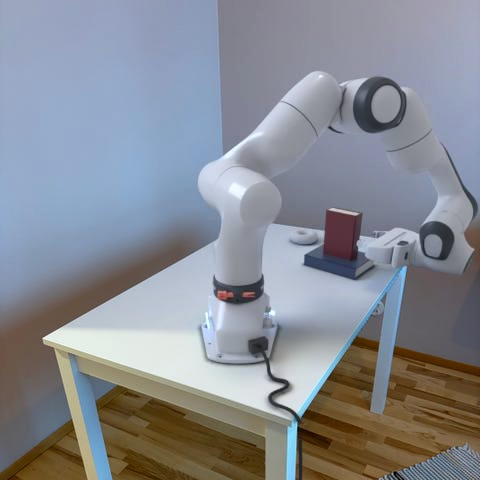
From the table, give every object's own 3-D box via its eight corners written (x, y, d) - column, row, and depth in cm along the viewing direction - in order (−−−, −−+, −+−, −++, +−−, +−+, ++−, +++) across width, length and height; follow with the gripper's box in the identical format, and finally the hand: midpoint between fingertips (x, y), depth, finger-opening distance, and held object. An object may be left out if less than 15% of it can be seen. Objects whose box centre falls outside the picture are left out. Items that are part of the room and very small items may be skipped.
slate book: (354, 279, 138) (355, 268, 136) (303, 264, 148) (304, 254, 146) (374, 265, 147) (375, 255, 145) (325, 252, 157) (325, 242, 155)
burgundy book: (351, 260, 142) (356, 216, 134) (322, 253, 147) (326, 209, 140) (357, 256, 144) (362, 212, 137) (329, 249, 150) (333, 206, 143)
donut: (288, 236, 171) (290, 245, 162) (289, 227, 169) (290, 236, 161) (316, 236, 171) (319, 245, 162) (316, 227, 169) (319, 236, 160)
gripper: (427, 228, 135) (382, 218, 143) (397, 248, 121) (350, 237, 129) (423, 248, 138) (379, 238, 146) (393, 270, 125) (347, 258, 132)
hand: (365, 238), depth 137 cm, fingers open, 8 cm apart
